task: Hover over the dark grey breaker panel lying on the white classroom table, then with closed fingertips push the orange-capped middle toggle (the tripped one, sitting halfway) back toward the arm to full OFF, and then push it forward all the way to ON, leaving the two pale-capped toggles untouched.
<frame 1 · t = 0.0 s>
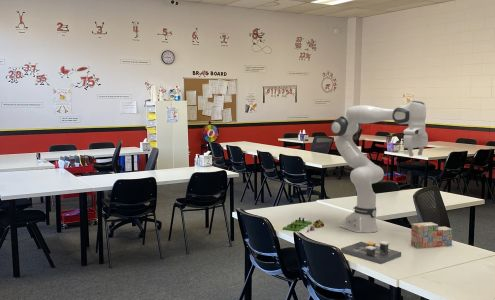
hand: (415, 155, 265), 48 cm above the table, fingers open, 8 cm apart
tripped breaker: (370, 246, 246), point 4 cm above the table, slide at 4.0 cm
stack of blocks: (431, 246, 262), on the table
breaker far: (384, 245, 247), point 4 cm above the table, slide at 8.0 cm
panel: (370, 254, 246), on the table
breaker near: (370, 250, 239), point 4 cm above the table, slide at 8.0 cm
toy garden set: (304, 228, 298), on the table
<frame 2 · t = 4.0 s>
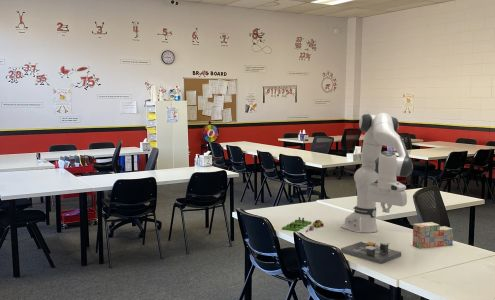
hand: (385, 212, 238), 23 cm above the table, fingers closed
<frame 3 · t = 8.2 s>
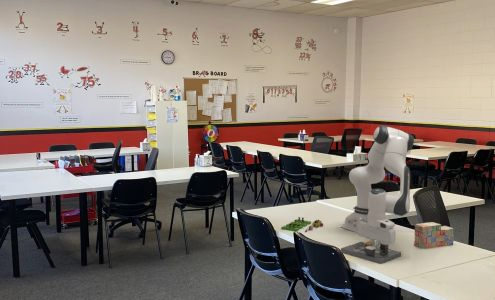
hand: (375, 248, 244), 4 cm above the table, fingers closed
tripped breaker: (369, 246, 246), point 4 cm above the table, slide at 3.2 cm, touching gripper
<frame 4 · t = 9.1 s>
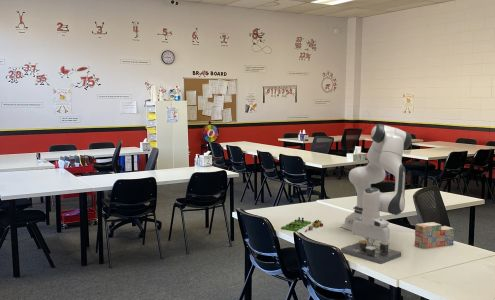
hand: (369, 246, 246), 4 cm above the table, fingers closed
tripped breaker: (364, 244, 249), point 4 cm above the table, slide at 0.0 cm, touching gripper
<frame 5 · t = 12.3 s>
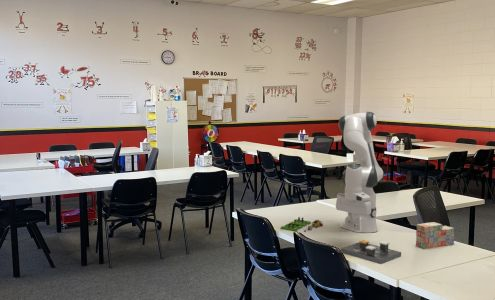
hand: (352, 221, 253), 15 cm above the table, fingers closed
tripped breaker: (364, 244, 249), point 4 cm above the table, slide at 0.0 cm
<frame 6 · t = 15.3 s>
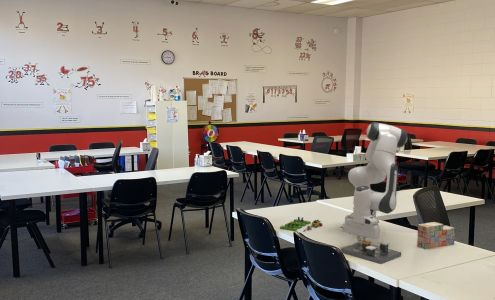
hand: (360, 244, 250), 4 cm above the table, fingers closed
tripped breaker: (366, 245, 248), point 4 cm above the table, slide at 1.4 cm, touching gripper
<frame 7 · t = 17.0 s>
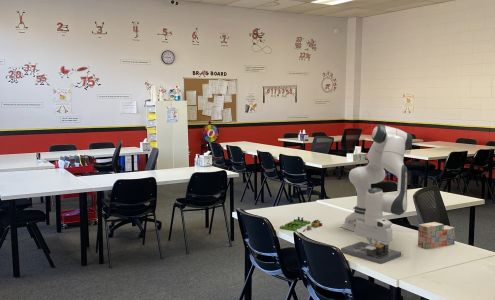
hand: (372, 247, 245), 4 cm above the table, fingers closed
tripped breaker: (378, 248, 242), point 4 cm above the table, slide at 8.5 cm, touching gripper
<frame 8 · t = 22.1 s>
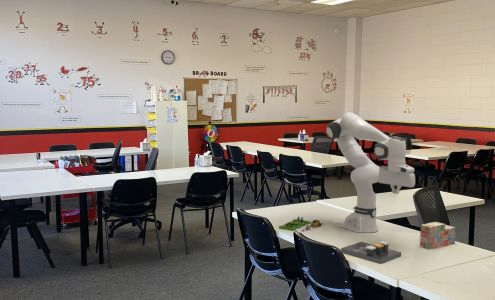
hand: (395, 193, 256), 29 cm above the table, fingers closed
tripped breaker: (378, 248, 242), point 4 cm above the table, slide at 8.5 cm
at the end: tripped breaker slide at 8.5 cm; breaker near slide at 8.0 cm; breaker far slide at 8.0 cm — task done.
